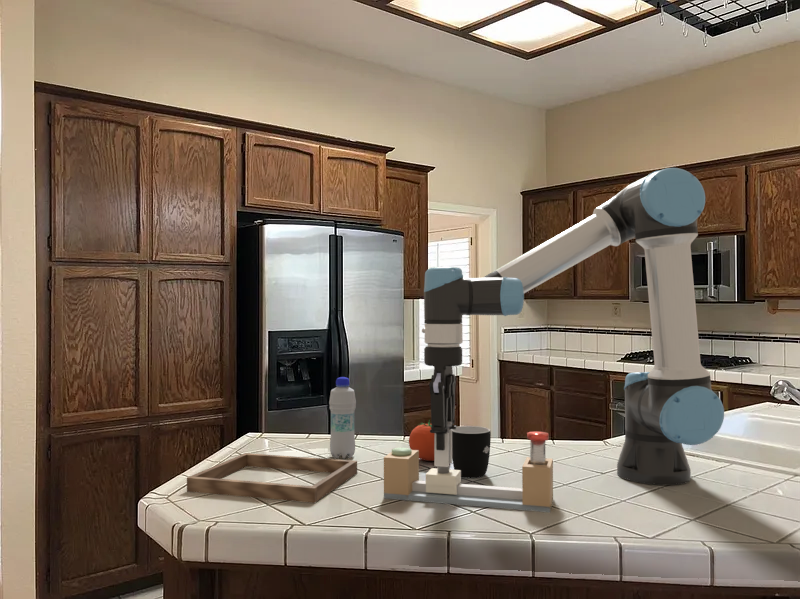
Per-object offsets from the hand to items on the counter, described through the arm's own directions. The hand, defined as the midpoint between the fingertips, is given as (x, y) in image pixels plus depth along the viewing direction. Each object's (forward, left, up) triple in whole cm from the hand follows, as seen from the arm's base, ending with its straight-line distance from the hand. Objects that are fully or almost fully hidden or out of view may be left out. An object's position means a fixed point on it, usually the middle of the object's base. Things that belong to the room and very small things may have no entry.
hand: (443, 464), depth 131 cm
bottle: (+32, -27, -7) cm, 43 cm away
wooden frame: (+37, -1, -7) cm, 38 cm away
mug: (-2, -20, -7) cm, 21 cm away
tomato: (+10, -29, -7) cm, 31 cm away
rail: (-5, 0, -7) cm, 8 cm away
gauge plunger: (-18, 0, -2) cm, 19 cm away
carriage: (0, 0, -5) cm, 5 cm away
